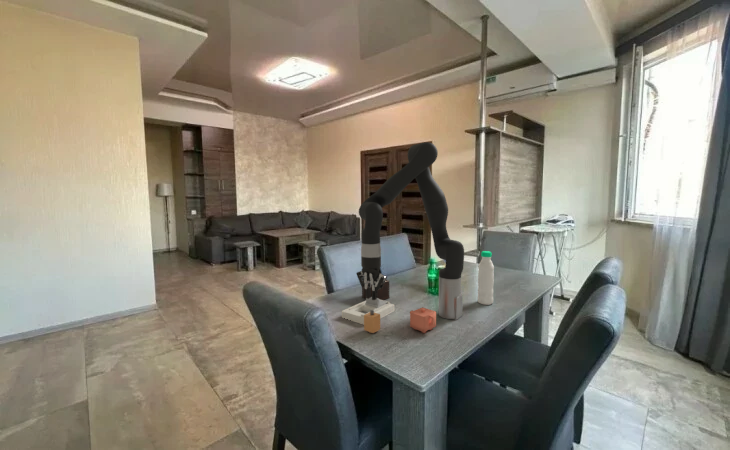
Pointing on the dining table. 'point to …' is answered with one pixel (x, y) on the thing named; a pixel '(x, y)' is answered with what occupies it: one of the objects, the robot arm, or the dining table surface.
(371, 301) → the grey block
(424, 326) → the pink cube teapot
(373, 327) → the plug
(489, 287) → the white milk bottle
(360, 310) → the socket plate
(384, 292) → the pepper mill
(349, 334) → the dining table surface
